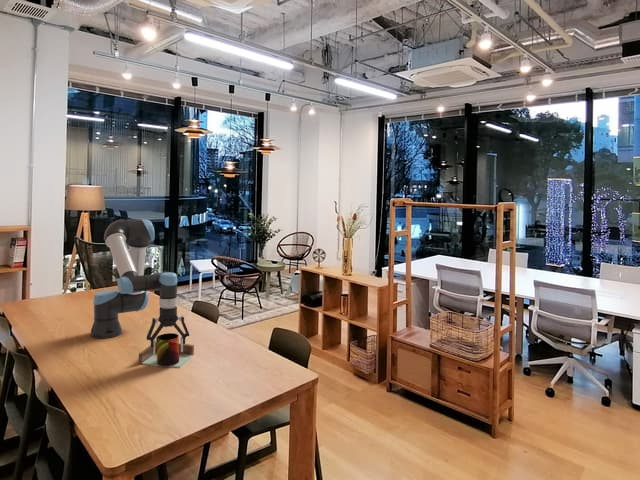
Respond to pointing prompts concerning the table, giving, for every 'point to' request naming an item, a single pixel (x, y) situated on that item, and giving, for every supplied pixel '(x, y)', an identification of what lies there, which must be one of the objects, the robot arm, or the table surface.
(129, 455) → the table surface
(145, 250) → the robot arm
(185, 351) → the walls
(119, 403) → the table surface
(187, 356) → the mat
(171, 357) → the mug
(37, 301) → the table surface
